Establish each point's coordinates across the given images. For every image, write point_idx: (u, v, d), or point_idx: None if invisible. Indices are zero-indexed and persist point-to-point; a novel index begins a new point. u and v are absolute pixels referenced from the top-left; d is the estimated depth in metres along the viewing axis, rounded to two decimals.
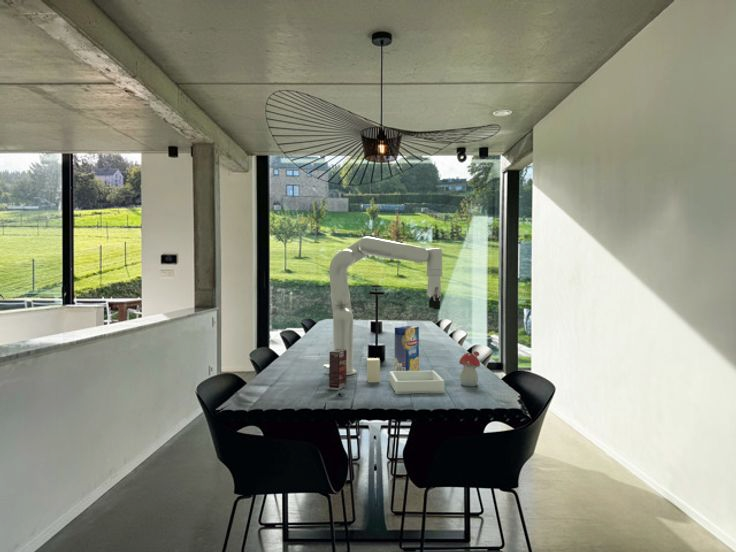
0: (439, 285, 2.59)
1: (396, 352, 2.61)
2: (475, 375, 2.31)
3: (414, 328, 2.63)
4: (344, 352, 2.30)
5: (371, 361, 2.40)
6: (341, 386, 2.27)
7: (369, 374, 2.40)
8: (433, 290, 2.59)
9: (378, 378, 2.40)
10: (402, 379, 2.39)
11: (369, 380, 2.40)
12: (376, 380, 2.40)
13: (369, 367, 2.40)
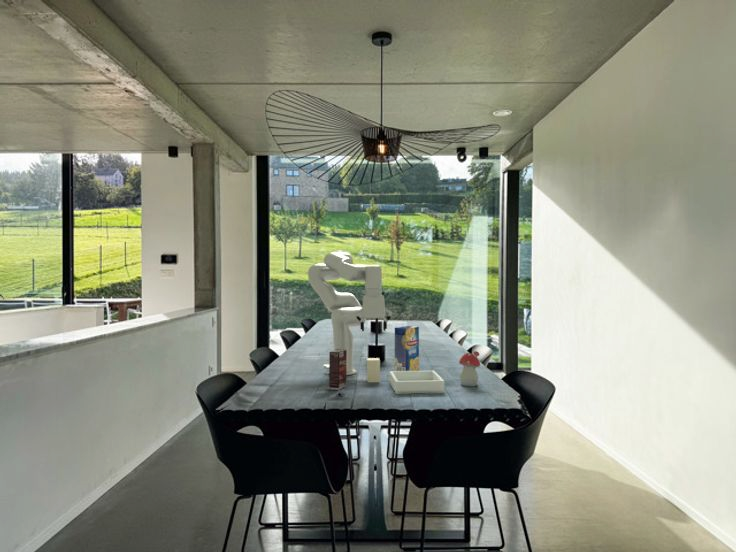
0: None
1: (396, 352, 2.61)
2: (475, 375, 2.31)
3: (414, 328, 2.63)
4: (344, 352, 2.30)
5: (371, 361, 2.40)
6: (341, 386, 2.27)
7: (369, 374, 2.40)
8: (385, 310, 2.41)
9: (378, 378, 2.40)
10: (402, 379, 2.39)
11: (369, 380, 2.40)
12: (376, 380, 2.40)
13: (369, 367, 2.40)
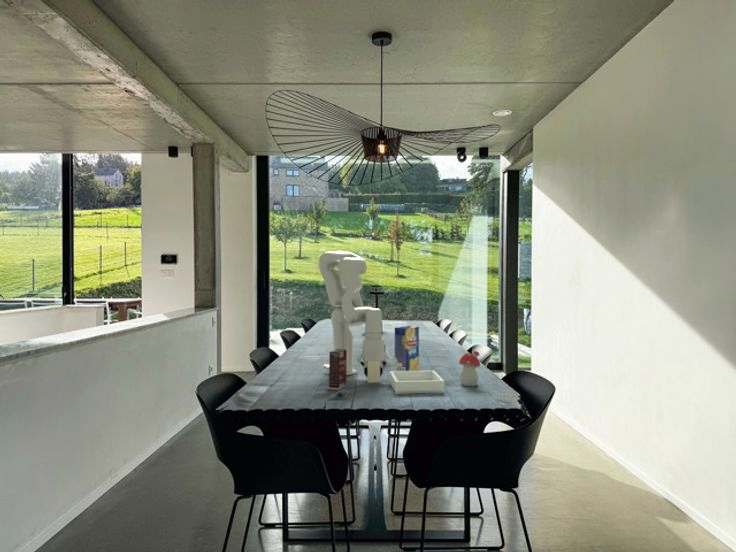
0: None
1: (396, 352, 2.61)
2: (475, 375, 2.31)
3: (414, 328, 2.63)
4: (344, 352, 2.30)
5: (371, 361, 2.40)
6: (341, 386, 2.27)
7: (369, 374, 2.40)
8: (384, 354, 2.41)
9: (378, 378, 2.40)
10: (402, 379, 2.39)
11: (369, 380, 2.40)
12: (376, 380, 2.40)
13: (369, 367, 2.40)
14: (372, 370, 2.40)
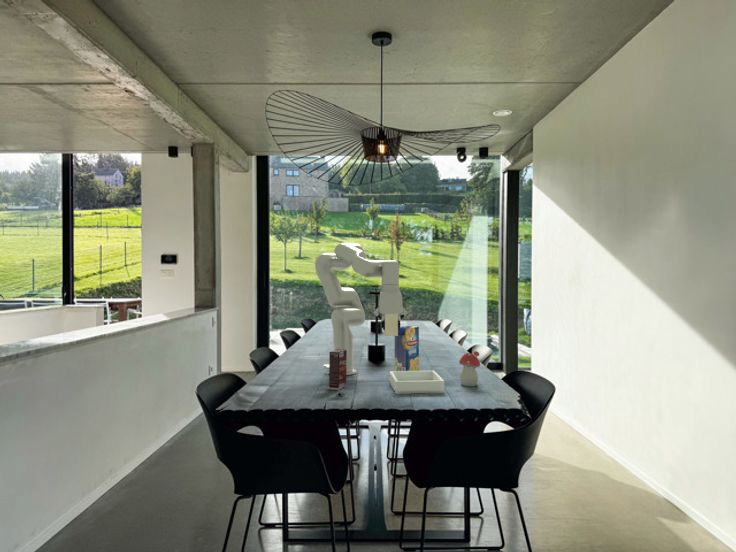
0: None
1: (396, 352, 2.61)
2: (475, 375, 2.31)
3: (414, 328, 2.63)
4: (344, 352, 2.30)
5: (388, 314, 2.34)
6: (341, 386, 2.27)
7: (387, 327, 2.34)
8: (402, 307, 2.36)
9: (396, 331, 2.34)
10: (402, 379, 2.39)
11: (387, 333, 2.34)
12: (393, 333, 2.34)
13: (386, 320, 2.34)
14: (390, 323, 2.34)
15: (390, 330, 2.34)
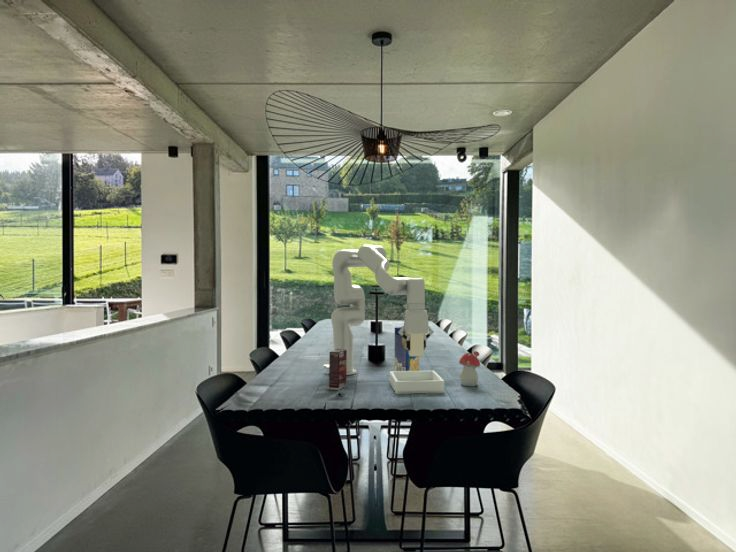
0: None
1: (396, 352, 2.61)
2: (475, 375, 2.31)
3: None
4: (344, 352, 2.30)
5: None
6: (341, 386, 2.27)
7: (412, 347, 2.27)
8: (428, 326, 2.28)
9: (422, 351, 2.27)
10: (402, 379, 2.39)
11: (412, 353, 2.27)
12: (419, 353, 2.27)
13: (412, 340, 2.27)
14: (415, 343, 2.27)
15: (416, 350, 2.27)
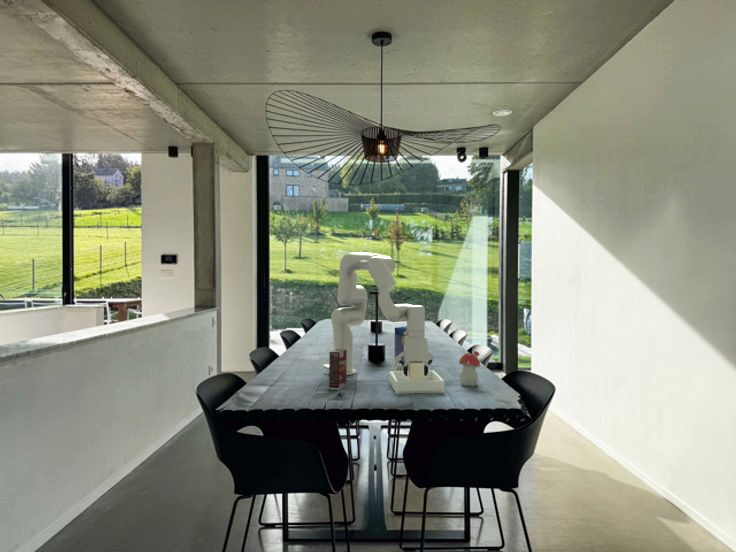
0: None
1: (396, 352, 2.61)
2: (475, 375, 2.31)
3: None
4: (344, 352, 2.30)
5: (414, 364, 2.27)
6: (341, 386, 2.27)
7: (412, 377, 2.27)
8: (428, 353, 2.29)
9: None
10: (402, 379, 2.39)
11: None
12: None
13: (412, 370, 2.27)
14: (415, 373, 2.27)
15: None
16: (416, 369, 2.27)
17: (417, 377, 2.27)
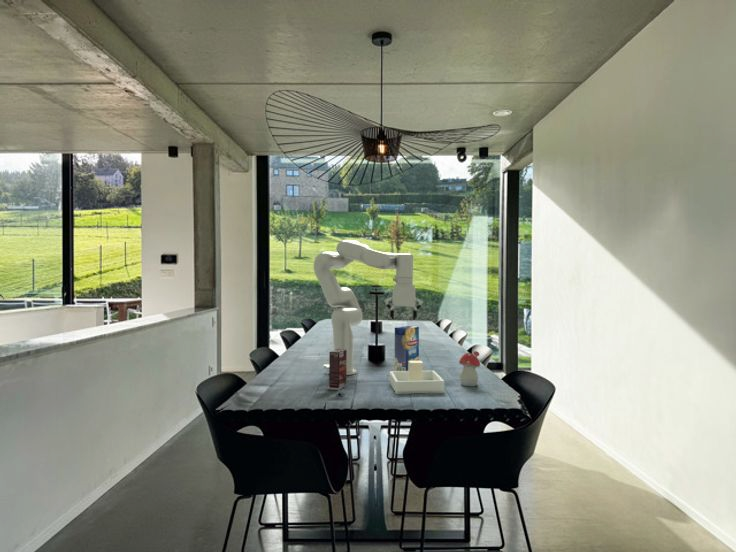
0: None
1: (396, 352, 2.61)
2: (475, 375, 2.31)
3: (414, 328, 2.63)
4: (344, 352, 2.30)
5: (414, 364, 2.27)
6: (340, 386, 2.27)
7: (412, 377, 2.27)
8: (415, 299, 2.41)
9: None
10: (402, 379, 2.39)
11: None
12: None
13: (412, 370, 2.27)
14: (415, 373, 2.27)
15: None
16: (416, 369, 2.27)
17: (417, 377, 2.27)
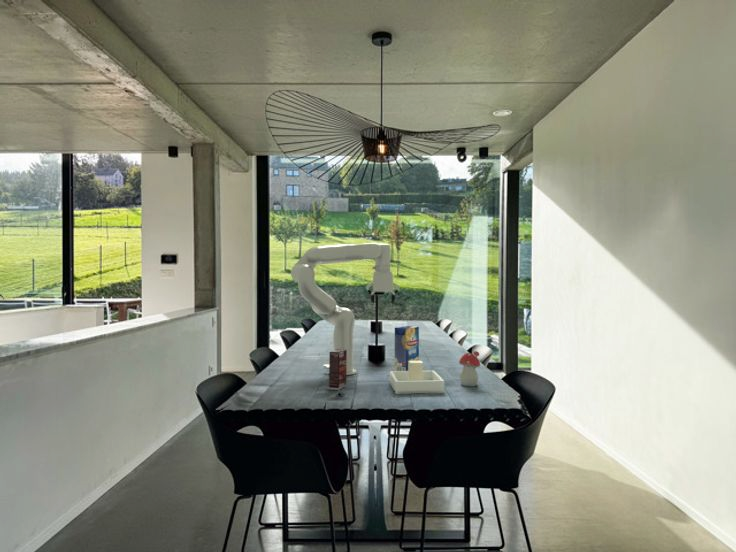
0: None
1: (396, 352, 2.61)
2: (475, 375, 2.31)
3: (414, 328, 2.63)
4: (344, 352, 2.30)
5: (414, 364, 2.27)
6: (341, 386, 2.27)
7: (412, 377, 2.27)
8: (393, 285, 2.69)
9: None
10: (402, 379, 2.39)
11: None
12: None
13: (412, 370, 2.27)
14: (415, 373, 2.27)
15: None
16: (416, 369, 2.27)
17: (417, 377, 2.27)
